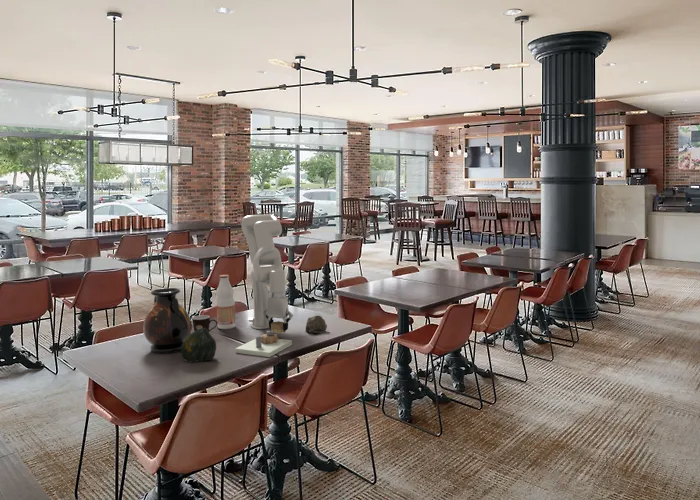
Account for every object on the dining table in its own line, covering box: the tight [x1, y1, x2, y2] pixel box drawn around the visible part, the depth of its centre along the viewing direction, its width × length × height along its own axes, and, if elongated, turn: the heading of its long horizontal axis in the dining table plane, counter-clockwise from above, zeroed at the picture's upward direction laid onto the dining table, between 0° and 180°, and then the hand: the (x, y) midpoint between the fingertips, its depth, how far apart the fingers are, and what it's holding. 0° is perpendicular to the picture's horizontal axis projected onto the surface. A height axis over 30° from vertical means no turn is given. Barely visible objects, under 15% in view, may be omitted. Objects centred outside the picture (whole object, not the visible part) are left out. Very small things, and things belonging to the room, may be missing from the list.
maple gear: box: [270, 320, 287, 335], centre depth 277 cm, size 7×7×4 cm
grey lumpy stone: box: [305, 315, 328, 335], centre depth 287 cm, size 11×9×10 cm
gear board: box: [235, 330, 293, 358], centre depth 260 cm, size 18×20×7 cm
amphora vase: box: [142, 287, 193, 354], centre depth 261 cm, size 22×22×28 cm
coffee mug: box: [191, 314, 218, 333], centre depth 281 cm, size 12×9×10 cm
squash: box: [180, 328, 217, 363], centre depth 245 cm, size 14×15×15 cm
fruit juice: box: [215, 274, 236, 330], centre depth 298 cm, size 9×9×28 cm
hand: (278, 328), depth 277 cm, fingers closed on maple gear, 7 cm apart
